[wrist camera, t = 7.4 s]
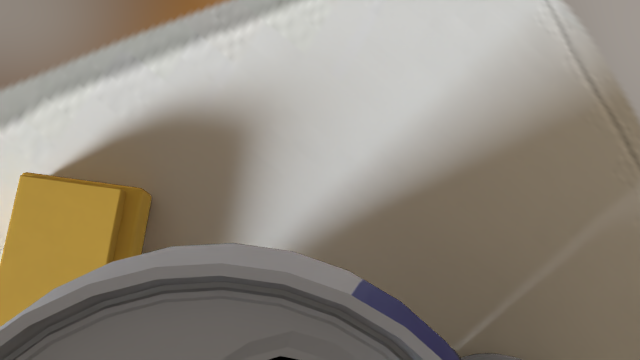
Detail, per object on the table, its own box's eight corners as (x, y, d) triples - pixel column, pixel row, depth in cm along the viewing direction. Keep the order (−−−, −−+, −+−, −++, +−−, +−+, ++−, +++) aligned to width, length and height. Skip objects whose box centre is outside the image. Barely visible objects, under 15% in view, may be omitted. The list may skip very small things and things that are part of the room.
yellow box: (123, 354, 16) (105, 361, 15) (3, 339, 16) (-28, 344, 15) (153, 195, 17) (139, 184, 16) (39, 179, 17) (13, 167, 16)
